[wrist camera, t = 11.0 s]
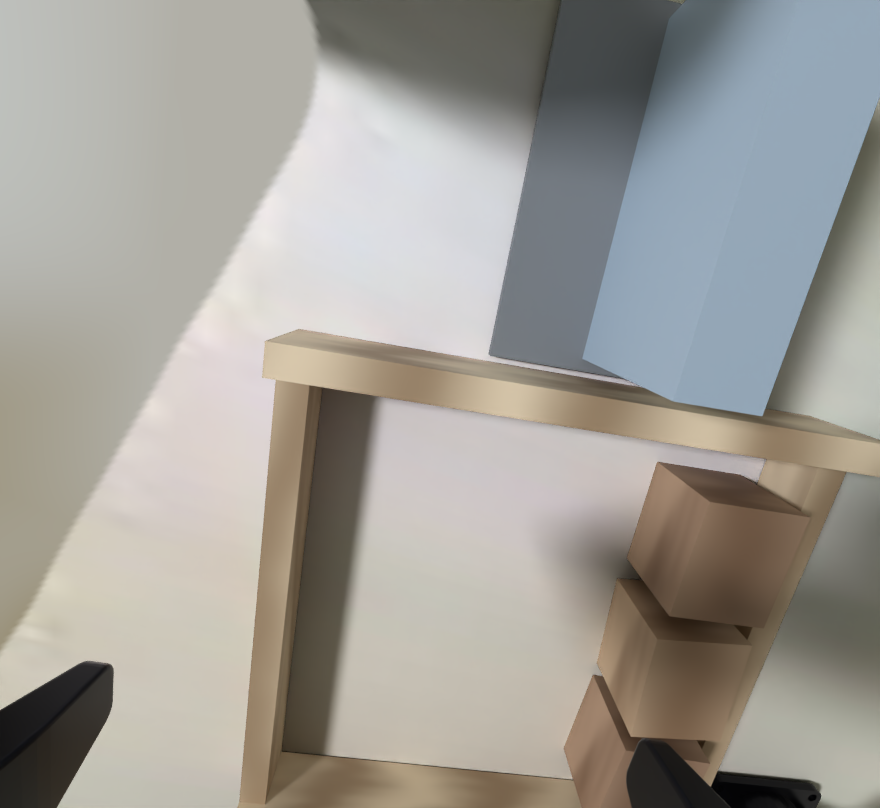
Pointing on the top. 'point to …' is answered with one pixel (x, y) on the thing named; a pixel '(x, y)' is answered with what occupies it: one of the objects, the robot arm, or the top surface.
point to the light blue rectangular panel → (734, 194)
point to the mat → (577, 177)
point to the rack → (510, 395)
